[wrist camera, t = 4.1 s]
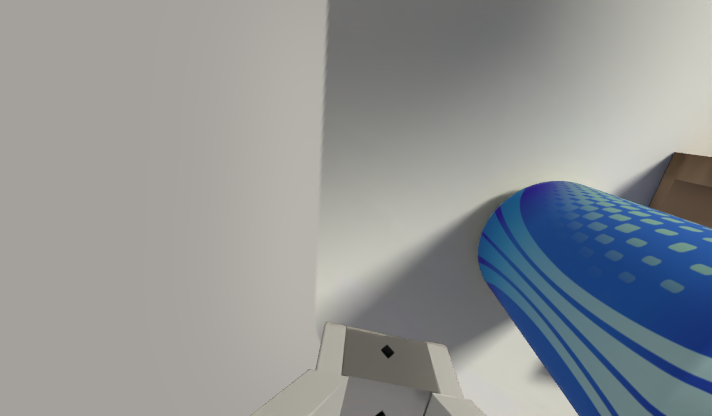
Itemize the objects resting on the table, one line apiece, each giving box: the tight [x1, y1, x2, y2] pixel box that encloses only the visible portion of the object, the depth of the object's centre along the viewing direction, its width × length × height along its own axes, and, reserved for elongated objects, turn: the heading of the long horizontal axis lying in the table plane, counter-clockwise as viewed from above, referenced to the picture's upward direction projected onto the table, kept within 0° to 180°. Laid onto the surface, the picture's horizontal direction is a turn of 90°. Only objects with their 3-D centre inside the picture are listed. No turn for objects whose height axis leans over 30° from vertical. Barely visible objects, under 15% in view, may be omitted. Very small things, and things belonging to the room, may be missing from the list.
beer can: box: [478, 181, 712, 416], centre depth 14 cm, size 8×8×16 cm
